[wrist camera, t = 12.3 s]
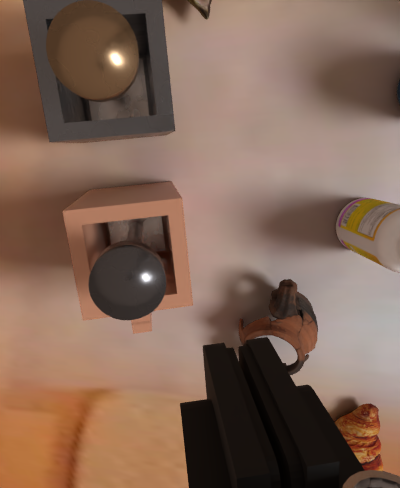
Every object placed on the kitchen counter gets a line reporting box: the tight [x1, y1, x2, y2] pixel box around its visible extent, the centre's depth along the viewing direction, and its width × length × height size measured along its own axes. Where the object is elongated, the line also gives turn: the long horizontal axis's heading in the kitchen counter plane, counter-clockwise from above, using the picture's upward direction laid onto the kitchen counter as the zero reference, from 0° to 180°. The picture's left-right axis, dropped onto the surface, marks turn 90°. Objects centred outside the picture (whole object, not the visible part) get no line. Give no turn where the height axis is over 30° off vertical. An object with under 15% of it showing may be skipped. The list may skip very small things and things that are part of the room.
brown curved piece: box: [239, 279, 318, 375], centre depth 46 cm, size 12×10×8 cm
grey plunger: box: [88, 216, 166, 320], centre depth 34 cm, size 6×6×18 cm
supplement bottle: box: [336, 198, 400, 273], centre depth 41 cm, size 7×7×13 cm
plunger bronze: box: [46, 0, 149, 121], centre depth 30 cm, size 6×6×18 cm
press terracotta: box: [63, 181, 193, 334], centre depth 37 cm, size 11×9×14 cm
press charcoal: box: [23, 0, 175, 143], centre depth 33 cm, size 11×9×14 cm
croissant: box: [335, 404, 383, 471], centre depth 54 cm, size 21×10×8 cm, turn 163°
